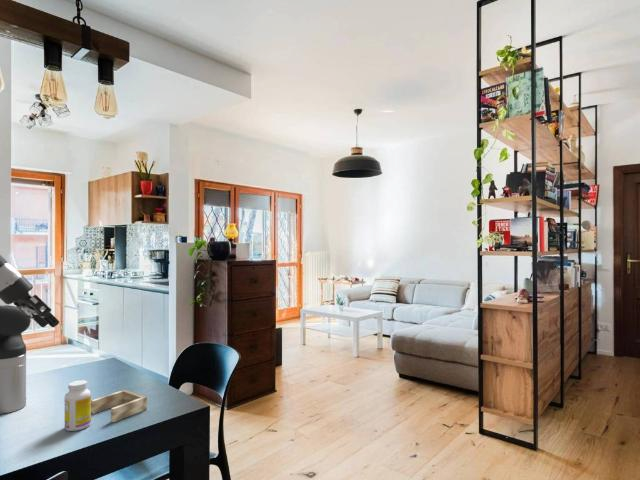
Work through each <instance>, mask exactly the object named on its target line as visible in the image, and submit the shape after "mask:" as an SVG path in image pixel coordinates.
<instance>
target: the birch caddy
mask: <svg viewBox="0 0 640 480" xmlns="http://www.w3.org/2000/svg"><path fill="white" fill-rule="evenodd" d="M108 409H110V422H111V423H113V422H114V423H116V422H118V421H121V420H123V418H124V419H126V418H129V417H131V416H134V415H136V414H139V413H143V412H144V411H147V409H148V397H147V396H146V395H141V394H138V393H136V392H133V391H130V390H127V389H123V390H119V391H117V392H116V391H115V392H112V393H110V394H107V395H104V396H100V397H98V398H95V399H91V413H92V414H91V415H95V414H98V413H100V412H102V411H105V410H108ZM97 412H98V413H97ZM94 413H95V414H94Z"/></svg>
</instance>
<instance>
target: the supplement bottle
mask: <svg viewBox="0 0 640 480" xmlns="http://www.w3.org/2000/svg"><path fill="white" fill-rule="evenodd" d="M87 386H88V381H87V380H84V379H83V380H75V381H74V380H73V381H72V382H70V383H68V387H67V389H68V390H69V391H68V392H66V394H65V395H64V429H65V430H66V431H69V432H77V431H81V430H85V429H86V428H88V427H89V426H90V425H91V423H92V414H91V400H92V397H91V396H92V394H91V391H90V389H88V388H87Z"/></svg>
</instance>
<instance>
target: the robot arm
mask: <svg viewBox="0 0 640 480" xmlns="http://www.w3.org/2000/svg"><path fill="white" fill-rule="evenodd" d="M33 289H34V285H33V284H32V283H31V282H30V281H29V280H28V279H27V278H26V277H25V276H24V275H23V274H22V273H21V272H20V271H19V270H18V269H17V268H16V267H15V266H13V265H12V264H11V263H10V262H8V261H7V260H6V259H5V258H4V257H3V256H2V255H1V254H0V300H1V301H2V302H3V303H4V304H5V305H0V415H2V414H8V413H13V412H15V411H19V410H21V409H23V408H25V407H26V406H27V345H26V343H25V342H24V340H23V335H22V334H23V333H24V332H25V331H27V330H28V329H29V328H30V325H31V323H32V320H33V321H34V322H36V323H37V324H38V326H40V327H41V328H45V327H46V326H47V325H49V326H50V327H51V328H55V327H57V325H59V324H60V321H59V320H58V318H57V317H56V316H54V314H53V313H52V308H51V307H50V306H48V305H47V304H46V303H45V302H44V301H43V300H42V299H41V298H40V297H39V296H38V294H34V295H32V294H30V293H29V292H30V291H32V290H33ZM11 304H13V305H11Z"/></svg>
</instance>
